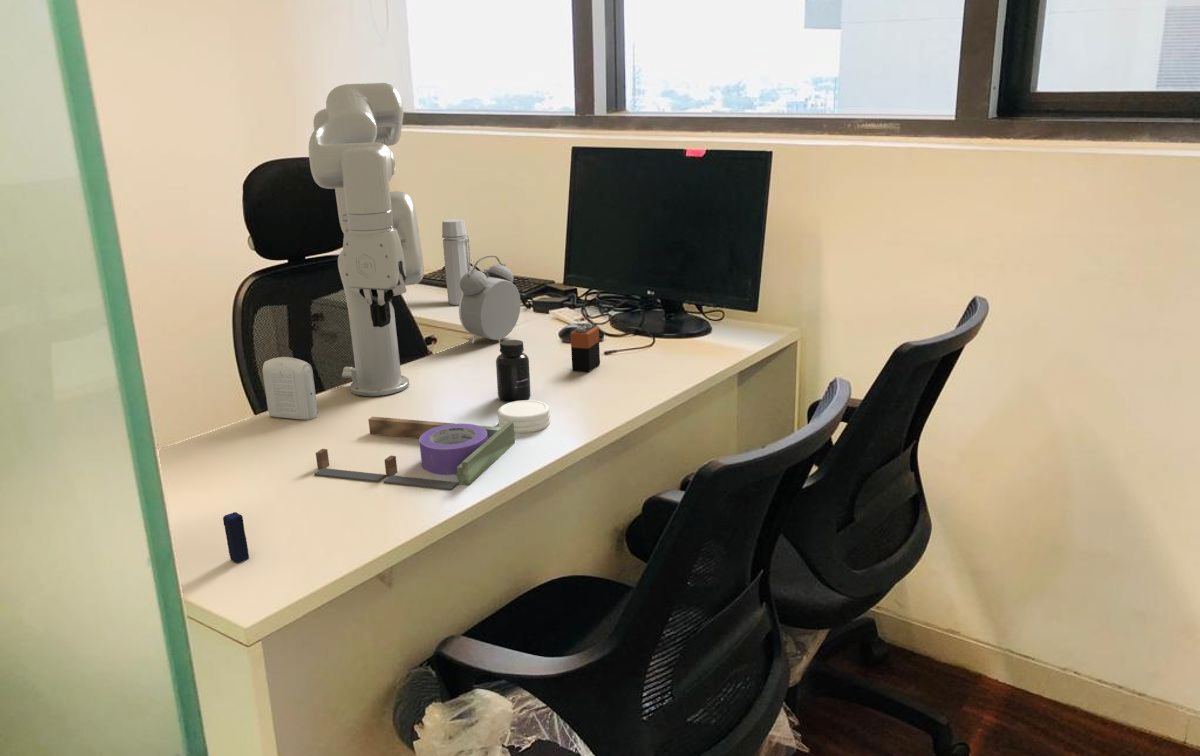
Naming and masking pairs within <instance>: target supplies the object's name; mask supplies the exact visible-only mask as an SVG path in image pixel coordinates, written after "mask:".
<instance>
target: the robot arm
mask: <svg viewBox="0 0 1200 756" xmlns="http://www.w3.org/2000/svg"><path fill="white" fill-rule="evenodd" d="M403 105H404V104H403V101H402V98H401V95H400V93H399V91H398V89H396V87H395V86H394V85H393V84H389V83H386V82H374V83H373V82H371V83H370V82H368V83H346V84H342V85H341V84H340V85H338V86H335V87H334V88H333V89H332V90H330V91H329V93H328V95H327V97H326V101H325V108H324V109H321V110H319V111H317V112H316V113H315V115H314V117H313V124H312V125H313V132H312V133H311V136H310V138H309V142H308V158H309V159H308V160H309V165H310V166H309V167H310V172H311V176H312V178H313V181H314V182H315V184H317V185H318V186H319V187H320V188H323V189H328V190H329V189H330V190H333V189H334V190H335V191H334V192H335V198H336V199H335V200H336V205H337V206H336V207H337V214H338V219H339V220H338V221H339V226H340V228H341V231H342V233H343V243H342V250H341V251H340V252H339V255H338V257H337V267H338V272H339V276H340V279H341V283H342V286H343V290H344V294H345V300H346V306H347V312H348V319H349V327H350V329H349V330H350V335H351V336H350V337H351V343H352V344H351V345H352V352H353V360H354V367H353V366H344V368H343V370H342V373H341V377H342V378H343V379H344V378H345V379H351V380H352V383H350V392H351V393H352V394H354V395H357V396H361V395H362V397H378V396H379V397H380V395H381V396H388V395H391V394H396V393H399V392H401V391H405V390H406V389H407V388H408V387H409V385H410V380H409V378H408V377H407V376H405V375H402V371H401V370H402V369H401V362H400V353H399V352H400V351H399V343H398V336H397V333H398V332H397V326H396V317H395V315H396V314H395V308H394V306H393V303H392V301H393V300H392V299H394V297H395V296H399V295H404V294H405V293H406V292H407V286H413V285H416V284H418V283H419V284H420V282H421V281H423V278H424V275H425V274H424V273H425V272H424V271H425V266H424V257H423V251H422V243H421V238H420V237H421V236H420V231H419V230H420V229H419V224H418V218H417V217H418V216H417V211H416V207H415V205H414V201H413V199H412V198H411V196H410V195H409V194H407V193H406V192H404V191H399V190H398V191H397V190H395V191H394V190H393V191H391V190H390V182H391V180H392V179H393V176H394V175H395V173H396V160H395V156H394V153H393V151H392V150H390V148H389V146H394V145H397V144H398V143H399V141H400V138H401V137H402V136H401V135H402V128H403V123H404V122H403V121H404V106H403Z"/></svg>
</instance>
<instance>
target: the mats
mask: <svg viewBox="0 0 1200 756" xmlns="http://www.w3.org/2000/svg"><path fill="white" fill-rule="evenodd" d="M314 476H315V477H316V476H319V477H327V478H337V479H345V480H352V481H353V480H354V481H364V482H365V481H366V482H373V483H380V482H381V481H382V480H383V483H384V484H389V485H401V486H411V487H416V488H417V487H418V488H419V487H420V488H427V489H428V488H429V489H435V490H436V489H438V490H444V491H445V490H446V491H453V490H454V489H455V488H456V487H457V486H458V485H459V484H458V481H449V480H437V479H430V478H423V477H421V478H419V477H413V476H401V475H391V476H390V477H388V476H386V474H385V473H384V474H383V473H374V472H372V473H371V472H364V471H354V470H343V469H335V468H328V467H326V468H322V469H318V470H317V471H316V472H314ZM386 477H387V478H386ZM384 479H385V480H384Z"/></svg>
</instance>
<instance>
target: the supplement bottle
mask: <svg viewBox="0 0 1200 756" xmlns="http://www.w3.org/2000/svg"><path fill="white" fill-rule="evenodd" d="M524 351H525V348H524V342H523V340H519V339H508V340H507V339H506V340H502V341H500V342H499V352H500V354H499V355H498V356H497V357H496V358H495V369H496V370H495V371H496V382H497V383H496V384H497V397H498V399H499V400H500V401H501V402H505V403H510V402H515V401H523V400H528V399H530V397H531V375H530V358H529V356H528V355H527V354H526V353H524Z"/></svg>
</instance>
